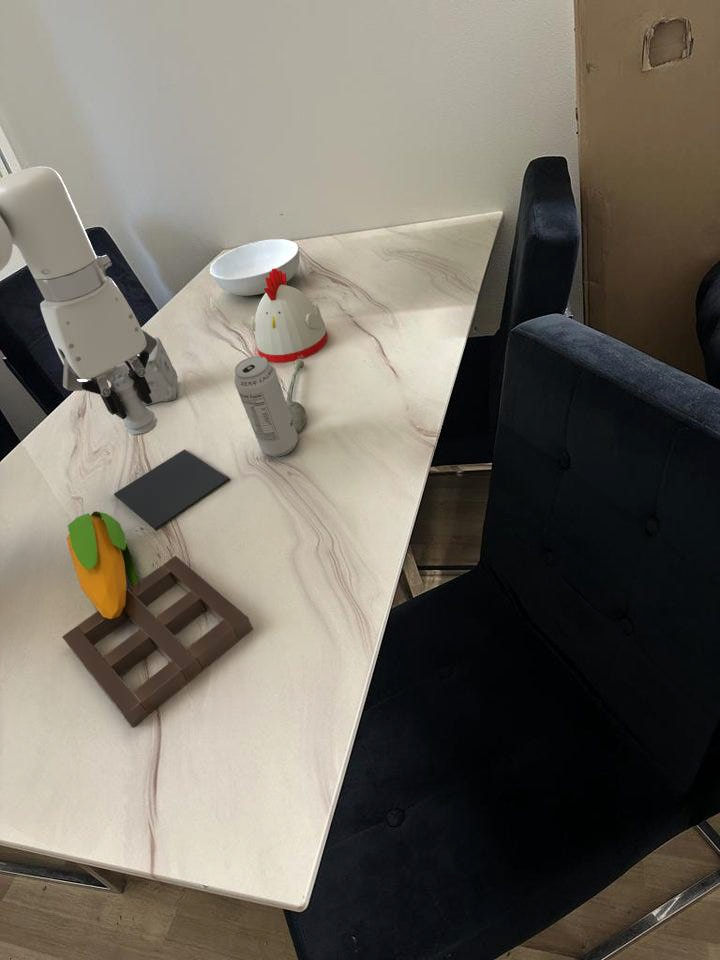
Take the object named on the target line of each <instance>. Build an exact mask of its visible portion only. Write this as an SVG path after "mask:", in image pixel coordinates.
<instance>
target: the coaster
mask: <svg viewBox="0 0 720 960" xmlns="http://www.w3.org/2000/svg"><path fill="white" fill-rule="evenodd" d="M230 480H231V479H230V477H229V476H227V475H225V474H223V472H221V471H220V470H217V469H216V468H215V467H213V466H211V465H210V464H208V463H206V462H205V461H203V460H202V459H201V458H199V457H197V456H195V455H194V454H192V452H189V451H188V450H187V449H182V450H181V451H180V452H178V453H176V454H174V455H173V456H171V457H170V458H168V459H166V460H165V461H164V462H162V463H160V464H159V465H157V466H155V467H154V468H152V469H151V470H149V471H147V472H146V473H144V474H143V475H141V476H139V477H138V478H136V479H135V480H133V481H132V482H130V483H128V484H127V485H125V486H124V487H122V488H121V489H119V490H117V491H115V492H114V493H113V495H114V497H116V498H117V499H118V500H119V501H121V502H122V504H124V505H125V506H126V507H127V508H129V509H130V510H131V511H132V512H133V513H135V514H136V515H137V516H139V517H140V518H141V520H143V521H144V522H146V523H147V524H148V525H149V526H150V527H152V529H154V530H155V531H157V530H159V529H160V528H162V527H164V526H165V525H166V524H167V523H169V522H170V521H172V520H174V519H175V518H177V517H178V516H179V515H181V514H182V513H184V512H185V511H187V510H188V509H190V508H191V507H193V506H194V505H195V504H197V503H198V502H200V501H201V500H204V498H206V497H208V496H209V495H210V494H211V493H213V492H215V491H216V490H217V489H219V488H221V487H222V486H223V485H225V484H226V483H229V481H230Z"/></svg>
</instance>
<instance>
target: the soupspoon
mask: <svg viewBox="0 0 720 960" xmlns="http://www.w3.org/2000/svg"><path fill="white" fill-rule="evenodd" d="M294 365H295V366H294V367H293V372H292V375H291V379H290V383H289V387H288V391H287V395H286V399H285V400H286V403H287V406H288V409H289V412H290V415H291V418H292V420H293V423H294V426H295V429H296V432H297V434H299V433H300V432H301V431H302V430H303V429H304V427H305V424H306V420H307V412H306V411H307V410H306V408H305V407H304V405H303V404H302V403H300V402H298V401H293V394H294V389H295V388H294V387H295V383H296V378H297V374H298V372H299V371H300V369H302V368H303V367H304V366H305V360H303V359H297V360H296V361H294Z"/></svg>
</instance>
